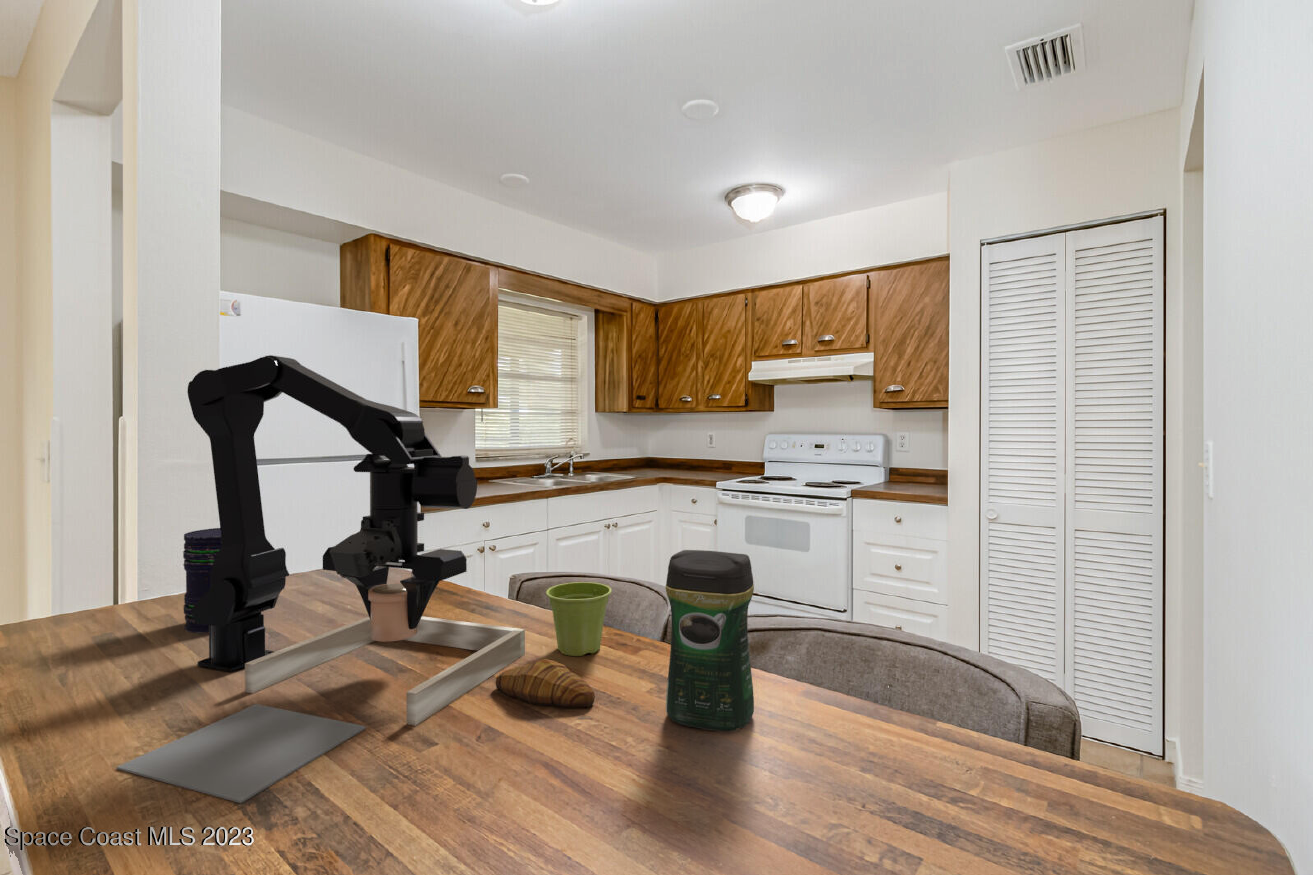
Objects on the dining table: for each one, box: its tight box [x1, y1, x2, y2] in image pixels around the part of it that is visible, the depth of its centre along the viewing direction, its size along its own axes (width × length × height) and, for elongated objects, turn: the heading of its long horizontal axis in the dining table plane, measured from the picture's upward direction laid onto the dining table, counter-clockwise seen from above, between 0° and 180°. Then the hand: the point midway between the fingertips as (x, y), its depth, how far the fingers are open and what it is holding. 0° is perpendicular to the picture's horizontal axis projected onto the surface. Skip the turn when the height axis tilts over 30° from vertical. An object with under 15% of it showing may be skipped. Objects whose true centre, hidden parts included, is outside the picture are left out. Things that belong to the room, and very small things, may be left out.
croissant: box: [495, 658, 596, 709], centre depth 74 cm, size 14×7×5 cm, turn 67°
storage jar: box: [182, 527, 222, 634], centre depth 101 cm, size 10×10×15 cm
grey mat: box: [116, 703, 367, 804], centre depth 62 cm, size 16×14×1 cm
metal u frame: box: [244, 615, 526, 727], centre depth 82 cm, size 25×22×4 cm
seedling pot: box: [368, 582, 417, 643], centre depth 81 cm, size 6×6×6 cm
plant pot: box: [545, 581, 613, 657], centre depth 90 cm, size 9×9×9 cm
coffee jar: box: [665, 549, 755, 733], centre depth 69 cm, size 10×8×19 cm
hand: (394, 626), depth 81 cm, fingers closed on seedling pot, 6 cm apart
